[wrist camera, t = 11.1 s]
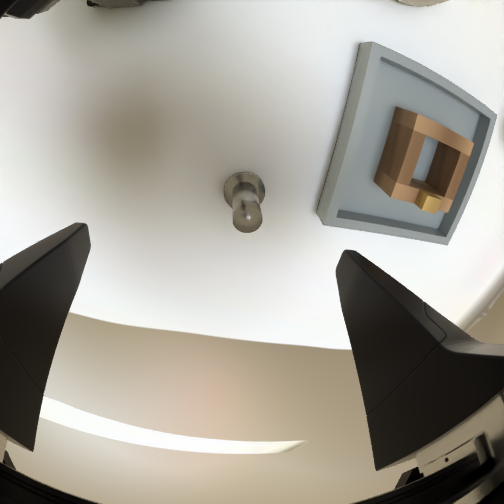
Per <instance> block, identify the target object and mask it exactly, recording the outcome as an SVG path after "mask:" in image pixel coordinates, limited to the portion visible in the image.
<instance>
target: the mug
mask: <svg viewBox="0 0 504 504" xmlns="http://www.w3.org/2000/svg"><path fill="white" fill-rule="evenodd" d="M398 1H399V2H402V3H406V4H409V5H413V6H431V5H435V4H438V3H442V2H445V1H448V0H398Z"/></svg>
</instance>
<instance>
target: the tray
mask: <svg viewBox="0 0 504 504" xmlns="http://www.w3.org/2000/svg"><path fill="white" fill-rule="evenodd" d="M396 106H397V107H400V108H403V109H406V110H409V111H412V112H415V113H417V114H420V115H422V116H424V117H426V118H428V119H430V120H432V121H434V122H436V123H438V124H440V125H442V126H444V127H446V128H448V129H450V130H452V131H454V132H456V133H457V134H459V135H461V136H463V137H465V138H466V139H468V140H470V141H471V142H473V143H474V145H473V148H472V151H471V155H470V158H469V160H468V163H467V166H466V169H465V172H464V174H463V177H462V180H461V182H460V185H459V188H458V190H457V193H456V195H455V197H454V200H453V202H452V205H451V207H450V209H449V211H448V213H446V212H443V211H439V210H437V213H436V214H434V213H430V212H427V211H423V210H421V209H420V208H419V207H418V206H417V205H416V204H413V203H410V202H406V201H402V200H398V199H394V198H390V197H389V196H388V195H387V194H386V193H385V192H384V191H383V190H382V189H381V188H380V187H379V186H378V185H377V184H375V183H374V182H373V180H374V177H375V174H376V171H377V168H378V165H379V162H380V159H381V156H382V153H383V149H384V146H385V143H386V139H387V136H388V133H389V129H390V126H391V122H392V118H393V115H394V111H395V107H396ZM496 118H497V114H495V113H494V112H493V111H492V110H490V109H489V108H488V107H486V106H485V105H484V104H483V103H481V102H480V101H478V100H477V99H476V98H474V97H473V96H471V95H470V94H469V93H467V92H466V91H464V90H463V89H461V88H460V87H458V86H457V85H455V84H454V83H452V82H450V81H449V80H447V79H446V78H444V77H442V76H441V75H439V74H437V73H436V72H434V71H432V70H430V69H429V68H427V67H425V66H423V65H421V64H419V63H417V62H416V61H414V60H412V59H410V58H408V57H406V56H404V55H402V54H400V53H397V52H395V51H393V50H391V49H389V48H387V47H384V46H382V45H380V44H377V43H375V42H365V43H360V46H359V51H358V55H357V60H356V65H355V69H354V74H353V78H352V82H351V87H350V91H349V95H348V99H347V103H346V107H345V111H344V115H343V119H342V123H341V127H340V131H339V135H338V139H337V142H336V146H335V150H334V154H333V157H332V161H331V164H330V168H329V172H328V175H327V179H326V182H325V186H324V189H323V192H322V196H321V199H320V202H319V206H318V209H317V212H316V213H317V215H318V216H319V218H320V220H321V222H322V224H323V225H326V226H333V227H340V228H347V229H353V230H360V231H366V232H373V233H379V234H385V235H391V236H398V237H403V238H409V239H415V240H421V241H427V242H432V243H438V244H443V245H448V243H449V241H450V239H451V237H452V235H453V233H454V231H455V229H456V227H457V225H458V223H459V221H460V219H461V216H462V214H463V212H464V210H465V207H466V205H467V203H468V200H469V198H470V196H471V193H472V191H473V188H474V186H475V183H476V181H477V178H478V175H479V173H480V170H481V167H482V164H483V161H484V158H485V155H486V152H487V149H488V146H489V143H490V139H491V136H492V133H493V129H494V125H495V121H496ZM438 142H439V141H438V140H436V139H434V138H431V137H429V136H427V135H426V137H425V140H424V143H423V147H422V150H421V153H420V156H419V159H418V162H417V165H416V168H415V170H414V173H413V176H412V178H414V179H417V180H421V181H424V182H425V180H426V177H427V174H428V172H429V169H430V166H431V163H432V160H433V157H434V154H435V151H436V148H437V145H438Z"/></svg>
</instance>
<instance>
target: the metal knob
mask: <svg viewBox="0 0 504 504" xmlns="http://www.w3.org/2000/svg"><path fill="white" fill-rule="evenodd" d="M264 196H265V188H264V185H263V182H262V181H261V179H260V178H259V177H258V176H256V175H255V174H253V173H249V172H240V173H237V174H235V175H233V176H231V177H230V178H229V179H228V181H227V182H226V184H225V187H224V197H225V200H226V202H227V203H228V204H229V205H230V206H231V207H232V208H233V224H234V226H235V228H236V229H237V230H239V231H241V232H244V233H250V232H253V231H256V230H257V229H258V228H259V227H260V226H261V224H262V214H261V209H260V204H261V202H262V201H263V199H264Z"/></svg>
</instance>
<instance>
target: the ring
mask: <svg viewBox="0 0 504 504" xmlns="http://www.w3.org/2000/svg"><path fill="white" fill-rule="evenodd" d="M426 135H427V136H429V137H431V138H434V139H436V140H438V141H439V142H438V145H437V148H436V151H435V154H434V157H433V160H432V163H431V166H430V169H429V172H428V174H427V177H426V180H425V182H424V181H421V180H417V179H414V178H412V176H413V173H414V170H415V168H416V165H417V162H418V159H419V156H420V153H421V150H422V147H423V143H424V140H425V137H426ZM473 145H474V143H473V142H471V141H470V140H468V139H466V138H465V137H463V136H461V135H459V134H457V133H456V132H454V131H452V130H450V129H448V128H446V127H444V126H442V125H440V124H438V123H436V122H434V121H432V120H430V119H428V118H426V117H424V116H422V115H420V114H417V113H415V112H412V111H409V110H406V109H403V108H400V107H397V106H396V107H395V111H394V115H393V118H392V122H391V126H390V129H389V133H388V136H387V139H386V143H385V146H384V149H383V153H382V156H381V159H380V162H379V165H378V168H377V171H376V174H375V177H374V180H373V182H374V183H375V184H377V185H378V186H379V187H380V188H381V189H382V190H383V191H384V192H385V193H386V194H387V195H388V196H389V197H390V198H394V199H398V200H402V201H406V202H410V203H413V204H416V205H417V206H418V207H419V208H420V209H421V210H423V211H427V212H430V213H434V214H436V213H437V210H439V211H443V212H446V213H448V211H449V209H450V207H451V205H452V202H453V200H454V197H455V195H456V193H457V190H458V188H459V185H460V182H461V180H462V177H463V174H464V172H465V169H466V166H467V163H468V160H469V158H470V155H471V151H472V148H473Z"/></svg>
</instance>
